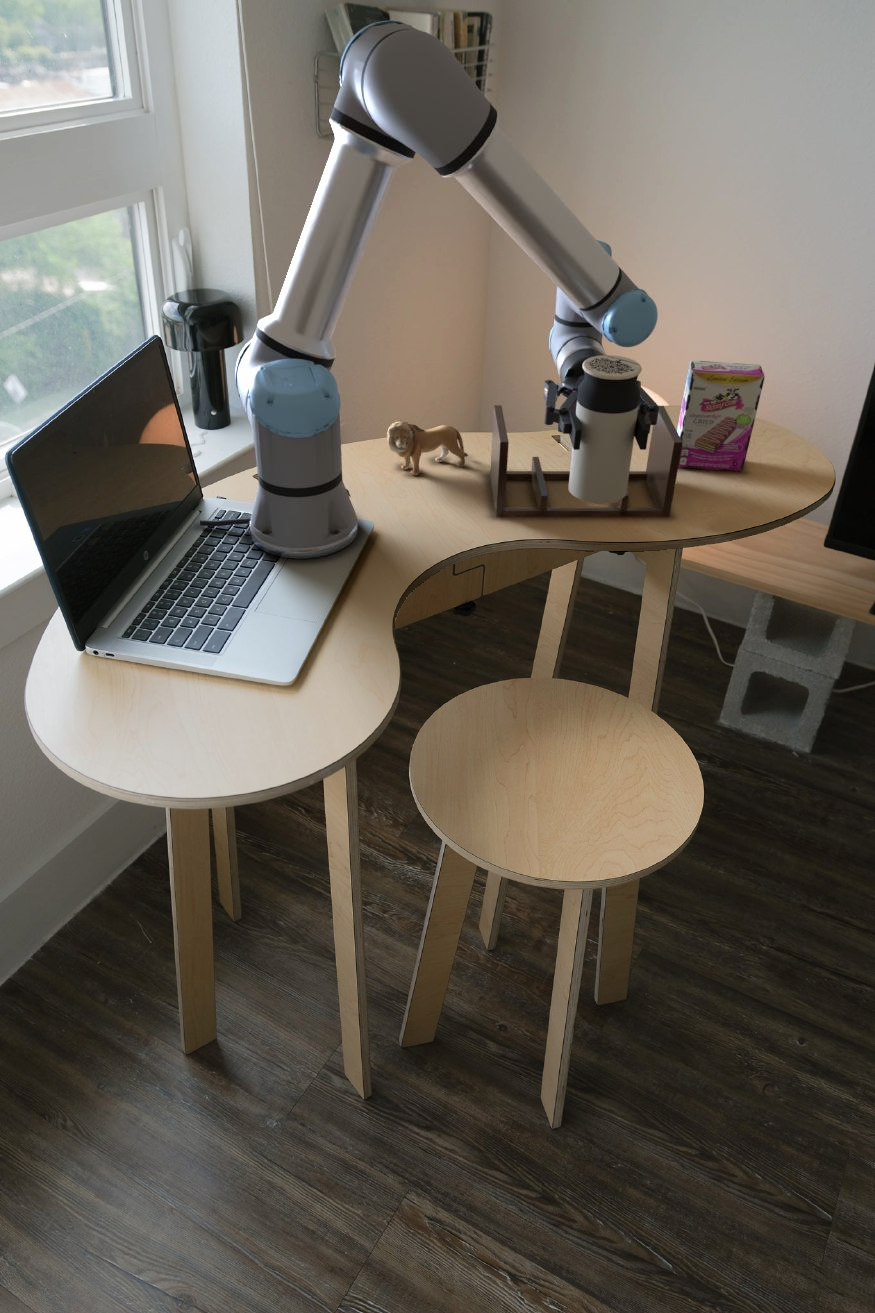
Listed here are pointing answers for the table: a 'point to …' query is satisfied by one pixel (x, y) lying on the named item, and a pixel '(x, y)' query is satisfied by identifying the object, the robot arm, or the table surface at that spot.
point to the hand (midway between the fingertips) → (611, 439)
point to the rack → (657, 475)
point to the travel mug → (605, 429)
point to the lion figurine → (424, 443)
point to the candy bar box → (718, 414)
